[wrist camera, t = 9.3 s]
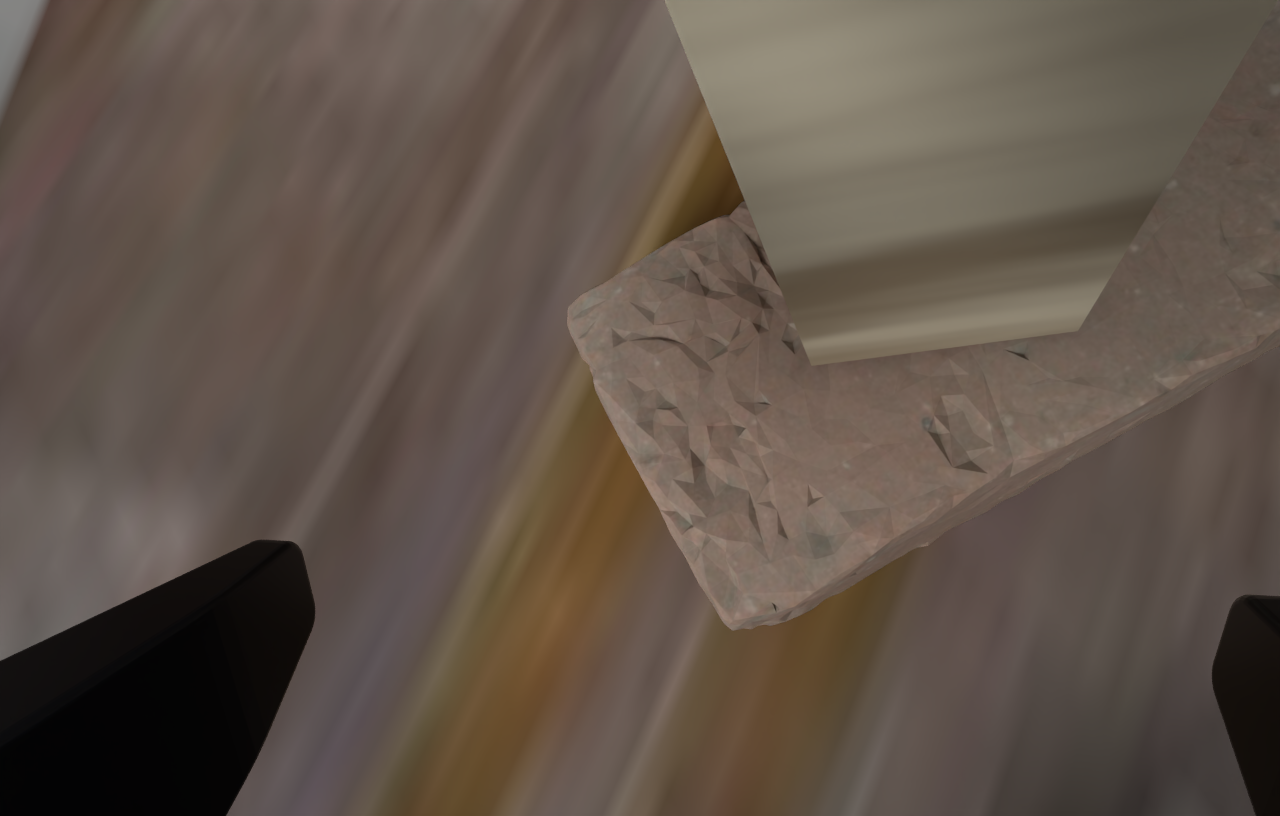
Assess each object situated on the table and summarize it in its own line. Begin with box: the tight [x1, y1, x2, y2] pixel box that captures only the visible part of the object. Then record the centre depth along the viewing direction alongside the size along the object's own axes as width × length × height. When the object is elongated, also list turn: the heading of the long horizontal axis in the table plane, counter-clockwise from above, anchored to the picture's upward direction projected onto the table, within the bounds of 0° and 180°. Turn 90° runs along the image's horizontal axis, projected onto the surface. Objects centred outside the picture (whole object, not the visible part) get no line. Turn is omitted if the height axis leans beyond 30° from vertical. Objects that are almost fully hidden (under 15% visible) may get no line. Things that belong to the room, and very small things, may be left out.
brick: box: [567, 0, 1280, 630], centre depth 20 cm, size 17×8×5 cm, turn 119°
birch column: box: [664, 0, 1278, 366], centre depth 12 cm, size 5×5×13 cm
